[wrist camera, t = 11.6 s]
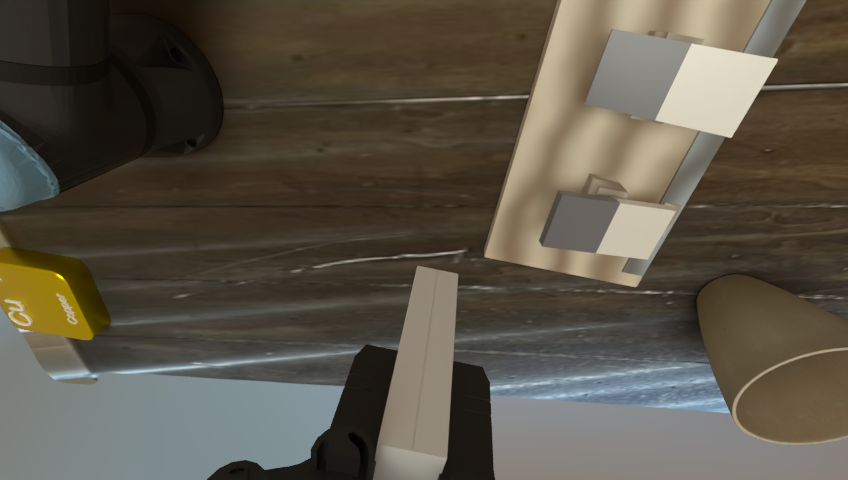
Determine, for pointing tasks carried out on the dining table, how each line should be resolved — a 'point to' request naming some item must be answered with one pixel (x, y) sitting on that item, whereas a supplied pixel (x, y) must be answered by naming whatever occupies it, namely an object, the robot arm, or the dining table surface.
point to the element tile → (50, 294)
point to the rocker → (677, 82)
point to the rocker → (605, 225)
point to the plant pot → (776, 360)
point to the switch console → (614, 125)
